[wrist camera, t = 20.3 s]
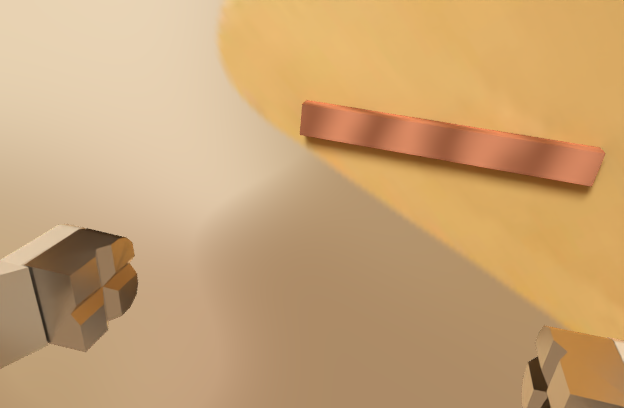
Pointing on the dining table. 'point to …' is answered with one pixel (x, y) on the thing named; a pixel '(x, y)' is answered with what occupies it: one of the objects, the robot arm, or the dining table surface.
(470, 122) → the dining table surface
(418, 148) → the copper-colored stick
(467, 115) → the dining table surface
